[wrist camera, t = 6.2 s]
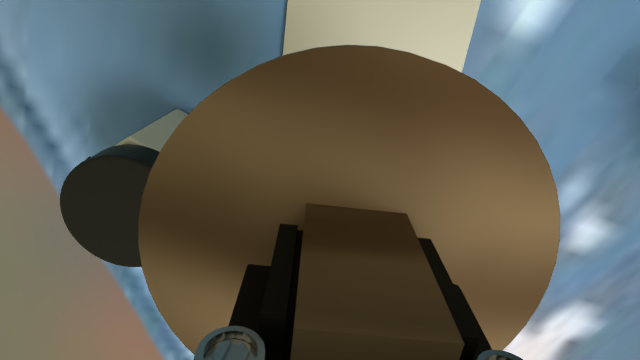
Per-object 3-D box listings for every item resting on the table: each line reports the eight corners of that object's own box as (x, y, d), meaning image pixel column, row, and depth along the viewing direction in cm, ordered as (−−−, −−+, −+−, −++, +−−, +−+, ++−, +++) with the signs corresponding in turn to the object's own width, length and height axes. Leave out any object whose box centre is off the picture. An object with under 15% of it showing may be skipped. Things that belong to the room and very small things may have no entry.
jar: (131, 108, 34) (39, 149, 23) (223, 107, 34) (175, 149, 23) (149, 199, 37) (76, 273, 26) (232, 199, 37) (194, 273, 26)
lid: (138, 17, 10) (-77, 8, 5) (606, 73, 11) (909, 125, 5) (160, 371, 15) (66, 571, 10) (482, 399, 16) (569, 607, 10)
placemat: (291, -33, 30) (291, -34, 29) (479, -5, 30) (482, -5, 30) (269, 198, 37) (269, 201, 37) (420, 217, 38) (422, 220, 37)
